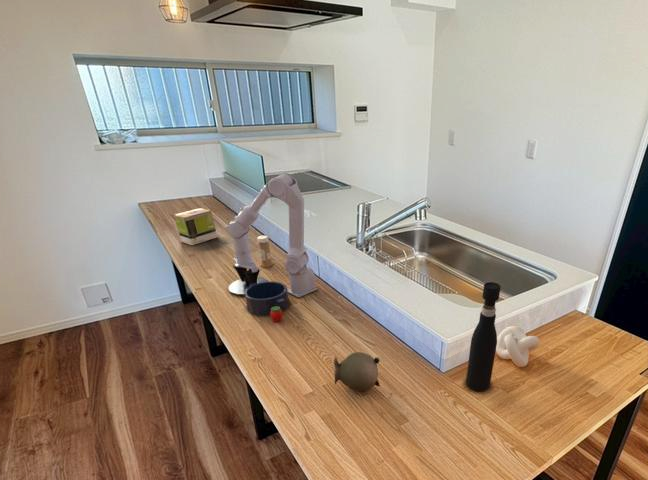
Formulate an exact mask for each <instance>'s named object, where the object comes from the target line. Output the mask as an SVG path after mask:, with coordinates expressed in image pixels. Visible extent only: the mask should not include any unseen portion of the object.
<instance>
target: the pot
mask: <svg viewBox="0 0 648 480" xmlns="http://www.w3.org/2000/svg"><path fill="white" fill-rule="evenodd" d="M287 290H288V287H287V285H286V284H284V283H282V282H279V281H269V282H262V283H257V284H256V283H252V284H249V288H247V289H246V291H245V295H244V296H245V302H246V307H247V310H248V312H249V313H250V314H252V315H254V316H259V317H260V316H261V317H262V316H263V317H264V316H267V317H268V316H270V312H271V308H272V307H274V306H279V307H280V309H281V310H282V312H284V311H286V310H287V309H288V307H289V305H290V298H289V292H288V291H287Z"/></svg>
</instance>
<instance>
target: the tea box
mask: <svg viewBox="0 0 648 480" xmlns="http://www.w3.org/2000/svg"><path fill="white" fill-rule="evenodd" d="M173 217H174V221H175V224H176V227H177V232H178V235H179V238H180V241H181V242H182V243H183V244H187V245H190V246H195V245H197V244H201V243H204V242H207V241H210V240H213V239H217V238H218V233H217V229H216V226H215V221H214V217H213V213H212V210H210V209H205V208H202V207H198V208H195V209H191V210H187V211H186V210H185V211H183V212H179V213H174V214H173Z"/></svg>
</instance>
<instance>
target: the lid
mask: <svg viewBox="0 0 648 480" xmlns="http://www.w3.org/2000/svg"><path fill="white" fill-rule="evenodd" d="M244 279H245V281H244V282H242V281H241V279H240V278H239V279H237V280H235V281H233V282H232V283H230V284H229V286H228V291H229V293H231V294H233V295H236V296H245V291H246V289H247V288H249V284H250V283H249V280H248V278H247V276H246V275H245V276H244ZM262 282H270V281H269V280H268V279H267V278H264V277H261V276H258V277H257V283H262Z"/></svg>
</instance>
